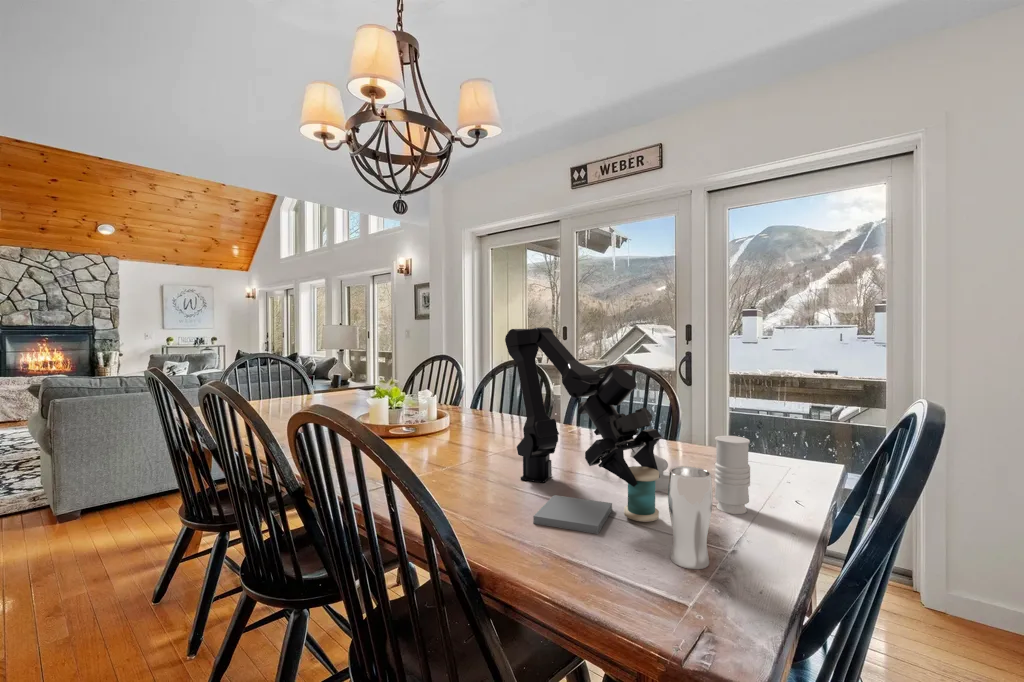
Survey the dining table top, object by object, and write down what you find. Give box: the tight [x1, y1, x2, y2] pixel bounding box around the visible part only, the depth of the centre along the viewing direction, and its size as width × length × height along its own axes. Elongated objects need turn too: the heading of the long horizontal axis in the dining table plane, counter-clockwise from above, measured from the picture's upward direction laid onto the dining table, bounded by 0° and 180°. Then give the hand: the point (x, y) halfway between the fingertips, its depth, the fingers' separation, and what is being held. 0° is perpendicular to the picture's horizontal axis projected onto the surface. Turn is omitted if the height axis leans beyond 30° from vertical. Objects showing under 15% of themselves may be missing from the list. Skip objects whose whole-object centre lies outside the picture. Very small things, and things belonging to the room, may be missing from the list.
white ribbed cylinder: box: [713, 435, 751, 515], centre depth 104 cm, size 7×7×15 cm
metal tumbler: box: [667, 465, 714, 570], centre depth 81 cm, size 7×7×15 cm
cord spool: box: [623, 465, 660, 523], centre depth 99 cm, size 7×7×9 cm
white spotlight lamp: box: [630, 449, 670, 491], centre depth 121 cm, size 9×10×10 cm
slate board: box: [532, 494, 613, 535], centre depth 101 cm, size 13×13×2 cm
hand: (647, 481), depth 98 cm, fingers closed on cord spool, 7 cm apart
